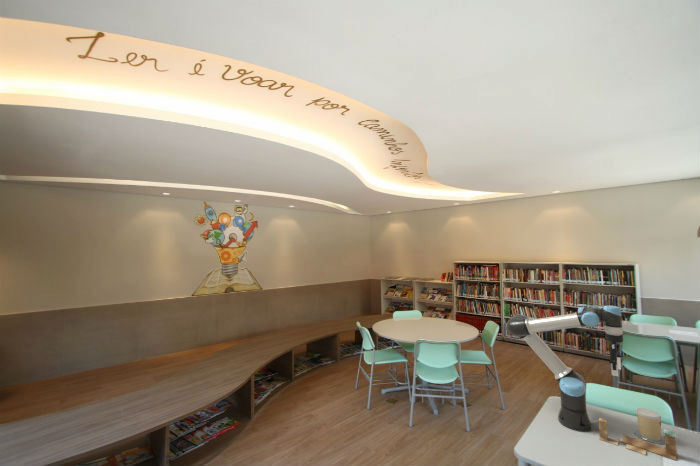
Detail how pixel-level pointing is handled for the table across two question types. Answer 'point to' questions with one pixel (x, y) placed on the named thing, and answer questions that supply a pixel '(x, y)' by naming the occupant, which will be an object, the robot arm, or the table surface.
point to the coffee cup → (649, 424)
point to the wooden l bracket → (666, 452)
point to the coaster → (661, 441)
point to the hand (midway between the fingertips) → (616, 372)
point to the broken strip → (604, 437)
